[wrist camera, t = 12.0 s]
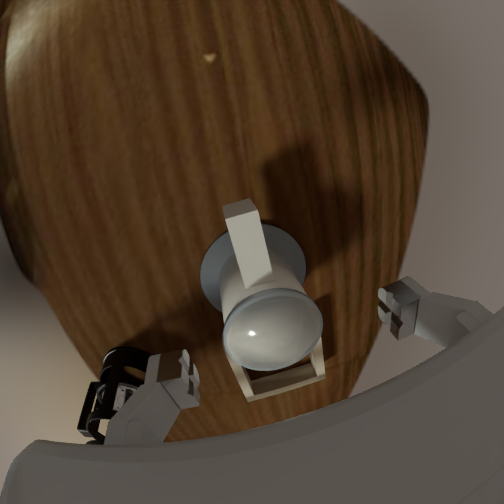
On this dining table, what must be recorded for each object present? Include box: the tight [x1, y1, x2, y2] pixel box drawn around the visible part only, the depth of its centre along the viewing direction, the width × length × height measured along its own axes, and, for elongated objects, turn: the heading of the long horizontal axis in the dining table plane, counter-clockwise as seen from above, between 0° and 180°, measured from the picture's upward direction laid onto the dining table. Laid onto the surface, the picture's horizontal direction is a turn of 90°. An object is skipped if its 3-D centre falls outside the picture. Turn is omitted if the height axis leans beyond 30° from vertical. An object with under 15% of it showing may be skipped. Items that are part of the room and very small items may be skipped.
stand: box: [221, 333, 325, 402], centre depth 36 cm, size 12×12×3 cm
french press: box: [77, 347, 152, 445], centre depth 24 cm, size 12×9×23 cm
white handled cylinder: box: [219, 199, 323, 371], centre depth 25 cm, size 14×8×10 cm, turn 13°
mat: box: [200, 223, 306, 313], centre depth 31 cm, size 12×12×1 cm
